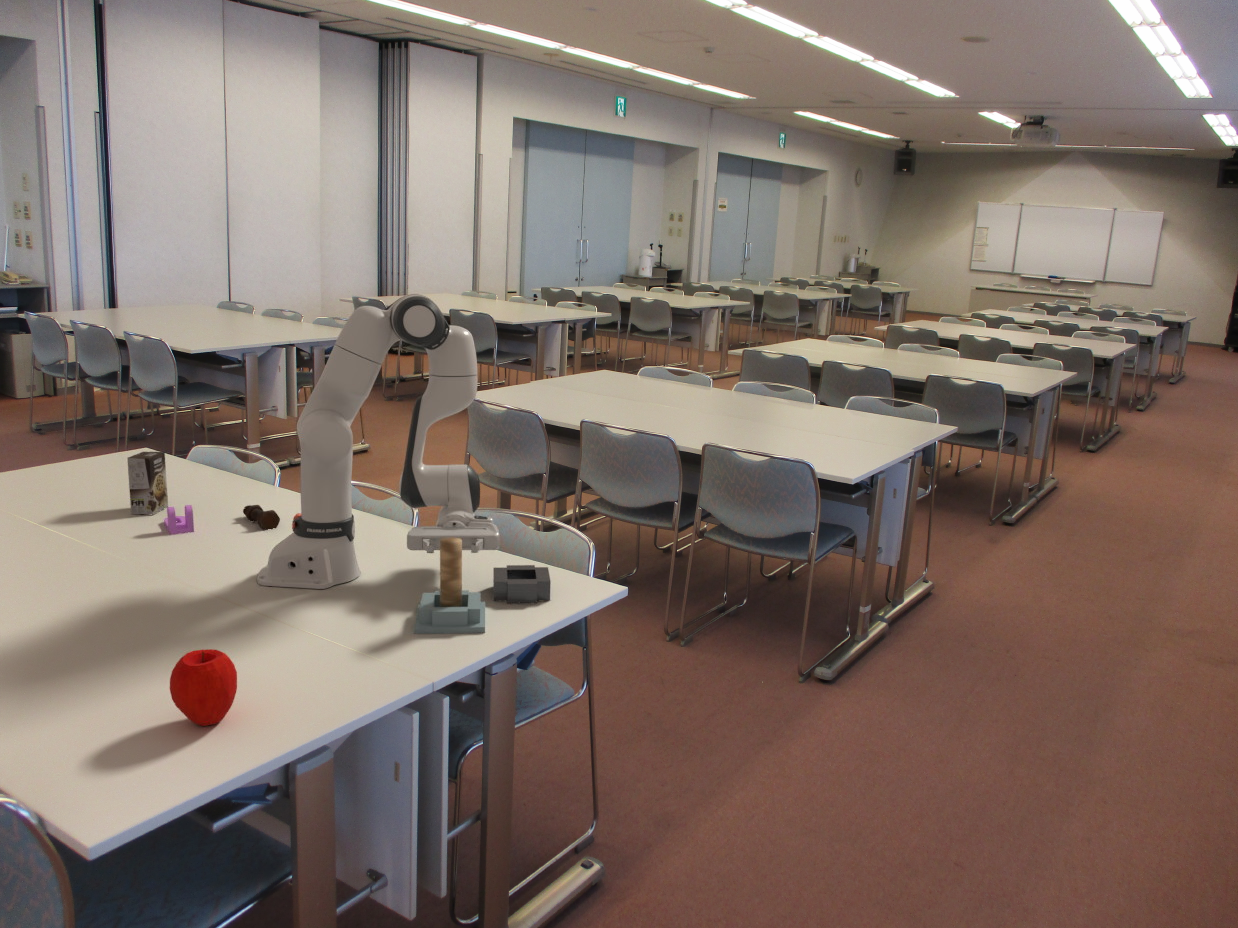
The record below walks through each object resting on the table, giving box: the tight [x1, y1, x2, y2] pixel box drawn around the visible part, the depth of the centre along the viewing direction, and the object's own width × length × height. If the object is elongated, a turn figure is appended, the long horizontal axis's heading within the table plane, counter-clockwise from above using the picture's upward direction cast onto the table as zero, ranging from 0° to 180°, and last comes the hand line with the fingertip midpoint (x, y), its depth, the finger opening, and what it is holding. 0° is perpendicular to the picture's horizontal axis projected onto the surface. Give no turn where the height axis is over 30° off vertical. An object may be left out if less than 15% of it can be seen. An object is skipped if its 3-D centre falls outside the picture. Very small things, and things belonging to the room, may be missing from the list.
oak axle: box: [439, 537, 463, 607], centre depth 194 cm, size 4×4×16 cm
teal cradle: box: [413, 589, 486, 635], centre depth 195 cm, size 14×14×4 cm
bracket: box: [163, 504, 195, 535], centre depth 250 cm, size 13×6×7 cm, turn 33°
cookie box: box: [127, 451, 169, 516], centre depth 262 cm, size 9×6×16 cm
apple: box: [169, 648, 238, 727], centre depth 150 cm, size 10×10×12 cm
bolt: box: [242, 504, 281, 531], centre depth 256 cm, size 6×5×15 cm
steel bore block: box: [492, 564, 552, 605], centre depth 212 cm, size 12×12×4 cm
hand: (452, 549), depth 203 cm, fingers open, 8 cm apart
